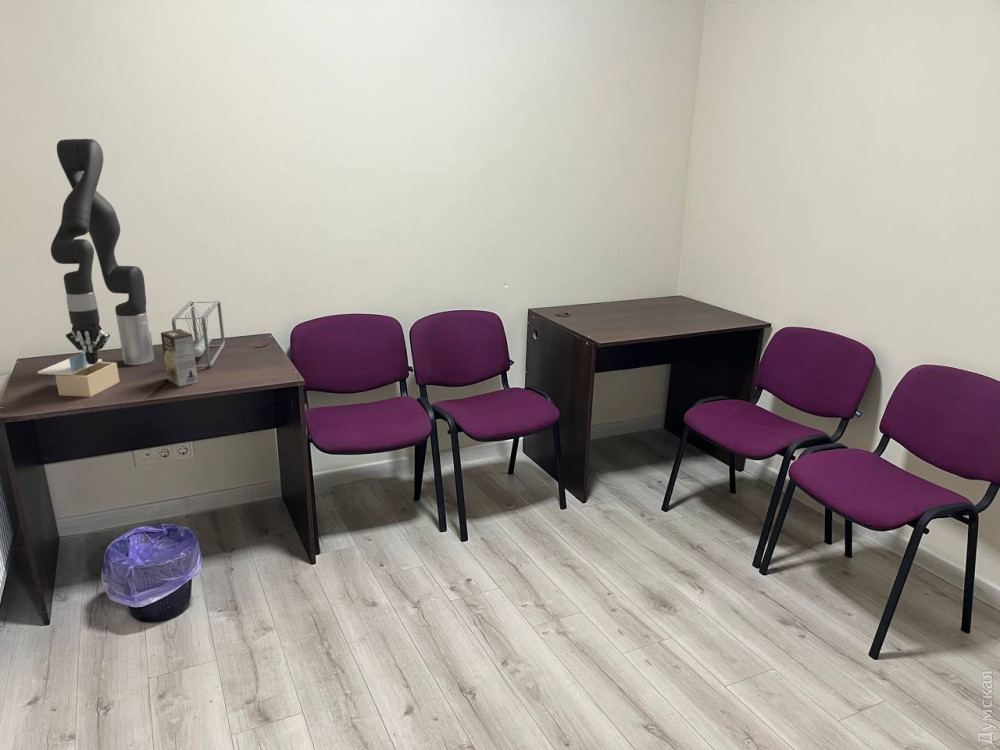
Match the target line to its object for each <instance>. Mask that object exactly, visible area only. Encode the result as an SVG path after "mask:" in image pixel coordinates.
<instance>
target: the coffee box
mask: <svg viewBox="0 0 1000 750" xmlns="http://www.w3.org/2000/svg"><path fill="white" fill-rule="evenodd" d="M192 336H193V334H191V332H190V333H189V332H187V331H186V330H183V329H181V328H179V329H178V328H176V330H173V329H172V330H168V331H163V332H160V337H161V345H162V352H163V359H164V367H165V372H166V373H165V374H166V379H167V381H168V382H170V383H172V384H174V385H175V386H177V387H180V388H181V387H184V386H188V385H192V384H197V383H199V382H198V373H197V372H198V371H197V367H196V364H197V363H196V357H195V355H194V346H195V345H194V341H193V339H194V337H193V338H192Z"/></svg>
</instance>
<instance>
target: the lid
mask: <svg viewBox="0 0 1000 750" xmlns="http://www.w3.org/2000/svg"><path fill="white" fill-rule="evenodd" d="M99 362H103V359H101V358H98V361H97V363H99ZM97 363H96V364H97ZM92 365H95V364H88V362H87V361H86V355H85V352H84V351H82V352H80V353H78V354H75V355H73V356H70V357H69V358H67V359H65V360H62V361H61V362H57V363H56V364H53V365H50V366H48V367H45V368H43V369H41V370H38V371H37V374H38V375H54V376H55V375H73V374H75V373H77V372H79V371H81V370H84V369H86V368H88V367H90V366H92Z"/></svg>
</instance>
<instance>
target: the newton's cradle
mask: <svg viewBox="0 0 1000 750" xmlns="http://www.w3.org/2000/svg"><path fill="white" fill-rule="evenodd" d="M205 303H209V304H208V305H207V306H206V307H204V306H203V307H200V306H199V307H198V306H197V307H196V305H197V304H205ZM216 307H217V312H218V320H219V329H220V339H221V340H220V341H221V344H211V343H212V337H211V336H210V335H209V334H208V328H207V325H208V323H209V316H210V314H211V313H212V312H213V311H214V310H215V308H216ZM198 308H200V309H201V308H205V309H203V310H202V311H201V314H198V310H197V309H198ZM186 310H187V311H186ZM185 311H186V312H185ZM184 312H185V313H184ZM180 316H181V317H180ZM184 316H185V317H184ZM186 316H188V317H186ZM190 316H191V317H190ZM196 316H197V317H196ZM197 319H198V320H197ZM177 320H186V322H187V326H188V328H189V332H190V334H192V331H193V334H194V336H193V334H192V338H193V346H194V355H195V358H199V357H201V356H203V354H204V353H205V358H206V363H207V364H201V365H198V364H197V365H196V368H197V367H208V368H211V366H212V367H213V365H214V364H215V362H216V360H217V358H218V357H219V355H220V354H221V352H222V351H221V350H224V347H225V343H226V341H225V340H226V338H225V330H224V321H223V313H222V306H221V301H220V300H219V299H217V300H215V301H214V300H212V301H193V300H189V302H187V303H186V304H185V305H184V306H183V307H182V308H181V309H180V310H179V311H178V312H177V313H176V314H175V315H174V316H173V318H172V319H171V327H172V330H177V323H176V322H177ZM188 320H189V322H190V325H191V327H192V331H191V328H190V325H189V322H188ZM191 320H192V322H191ZM198 321H199V323H198ZM197 327H198V328H197ZM210 347H219V348H218V349H217V350H216V353H215V354H214V355H213V357H212V359H211V355H210Z"/></svg>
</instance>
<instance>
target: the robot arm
mask: <svg viewBox="0 0 1000 750" xmlns="http://www.w3.org/2000/svg"><path fill="white" fill-rule="evenodd" d="M56 154H57V155H56V156H57V157H58V160H59V164H60V165H61V168H62V170H63V172H64V174H65V176H66V178H67V180H68V183H69V185H70V186H71V189H72V190H71V191H70V193H68V195H67V197H66V198H65V200H64V202H63V206H62V212H61V221H60V225H59V227H58V230H57V232H56V234H55V236H54V238H53V240H52V241H51V242H52V243H51V245H50V255H51V257H52V259H53V260H54V262H55V263H58V264H59V265H60V264H61V265H78V268H77V270H75V271H70V272H69V271H68V272H67V273H65V274H64V275H63V283H64V288H65V289H64V290H65V294H66V305H67V310H68V315H69V322H70V324H71V325H72V327H71V331H70V332H68V333H66V334H65V338H66V339H67V340H68V341H70V343H71V344H72V345H73V346H74V347H75V349H77V351H82V352H85V355H86V361H87V362H88V364H96V363H97V361H98V359H99V356H98V351H99V350H102V349H103V348H104V347H105V344H106V343H107V341H108V340H109V339H110V336H111V334H110V333H108V332H107V333H106V332H104V331H103V329H102V327H101V325H100V321H101V320H100V313H99V308H98V301H97V297H96V294H95V292H94V284H93V279H92V277H93V276H92V274H93V273H92V272H93V262H94V256H95V252H96V256H97V258H98V262H99V266H100V271H101V274H102V278H103V281H104V284H105V287H106V288H107V289H108V291H109V292H111V293H112V294H113V293H114V294H121V295H122V294H127V295H128V299H127V300H126V301H124V302H122V303H119V304H117V305H115V309H114V311H115V316H116V322H117V329H118V334H119V341H120V347H121V353H122V358H123V365H125V366H126V365H128V366H139V365H145V364H149V363H151V362H152V363H153V361H154V359H155V353H154V347H153V345H154V344H153V340H152V334H151V331H150V327H149V321H148V315H147V296H146V285H145V277H144V276H145V275H144V273H143V270H142V269H141V268H140V267H139V266H135V265H118V263H117V260H116V256H115V249H116V246H117V243H118V240H119V238H120V234H121V225H120V224H121V223H120V222H119V219H118V216H117V213H116V210H115V208H114V207H113V205H112V204H111V203H110V202H109V201H108V200H107V199H106V198H105V197H104V196H103V195H101V194H100V193H99V192H98V191H97V188H98V185H99V180H100V177H101V174H102V171H103V170H102V169H103V168H104V167H103V165H104V152H103V150H102V147H101V145H100V144H99V142H98V141H97V140H96V139H92V138H70V139H67V138H66V139H60V140H59V141H57V144H56ZM88 233H89V236H90V239H91V241H92V243H93V244H92V243H91V242H90V241H89V240H87V239H83V238H78V237H81V236H85V235H88ZM93 246H94V247H93Z"/></svg>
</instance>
